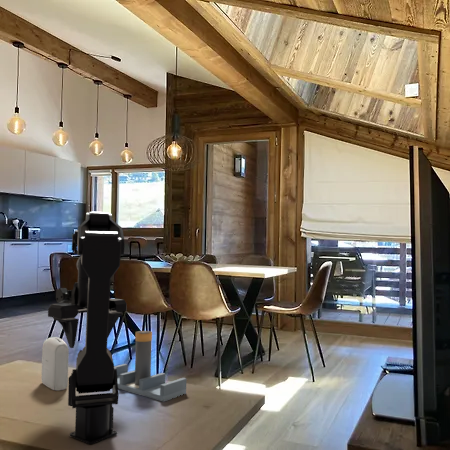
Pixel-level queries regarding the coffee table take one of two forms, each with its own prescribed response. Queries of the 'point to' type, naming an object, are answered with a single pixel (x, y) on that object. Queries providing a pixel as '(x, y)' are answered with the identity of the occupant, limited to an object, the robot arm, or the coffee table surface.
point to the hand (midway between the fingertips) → (88, 344)
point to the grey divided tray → (150, 385)
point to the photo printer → (55, 363)
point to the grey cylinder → (143, 355)
